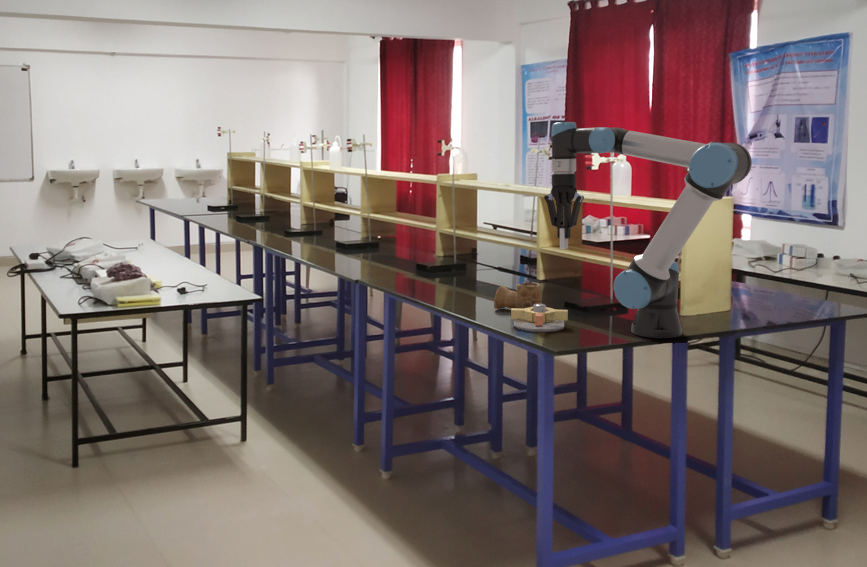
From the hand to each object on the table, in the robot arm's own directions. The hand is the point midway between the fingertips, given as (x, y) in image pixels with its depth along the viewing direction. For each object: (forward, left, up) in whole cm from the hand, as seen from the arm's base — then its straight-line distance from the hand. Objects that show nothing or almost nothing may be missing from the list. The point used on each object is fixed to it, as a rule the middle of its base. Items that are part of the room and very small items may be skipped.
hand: (563, 248), depth 266 cm
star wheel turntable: (+7, +3, -26) cm, 27 cm away
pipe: (+28, -9, -26) cm, 39 cm away
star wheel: (+7, +3, -23) cm, 24 cm away
